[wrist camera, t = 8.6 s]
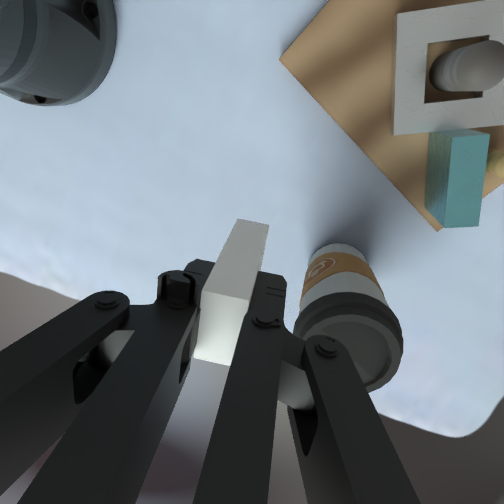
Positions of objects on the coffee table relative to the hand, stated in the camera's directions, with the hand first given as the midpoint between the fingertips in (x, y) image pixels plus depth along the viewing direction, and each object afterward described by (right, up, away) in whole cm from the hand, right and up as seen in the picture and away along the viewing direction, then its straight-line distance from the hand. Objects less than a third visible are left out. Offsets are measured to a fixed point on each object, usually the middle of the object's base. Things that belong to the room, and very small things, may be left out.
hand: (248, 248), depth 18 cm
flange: (+17, +11, +14) cm, 25 cm away
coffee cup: (+9, -2, +23) cm, 25 cm away
